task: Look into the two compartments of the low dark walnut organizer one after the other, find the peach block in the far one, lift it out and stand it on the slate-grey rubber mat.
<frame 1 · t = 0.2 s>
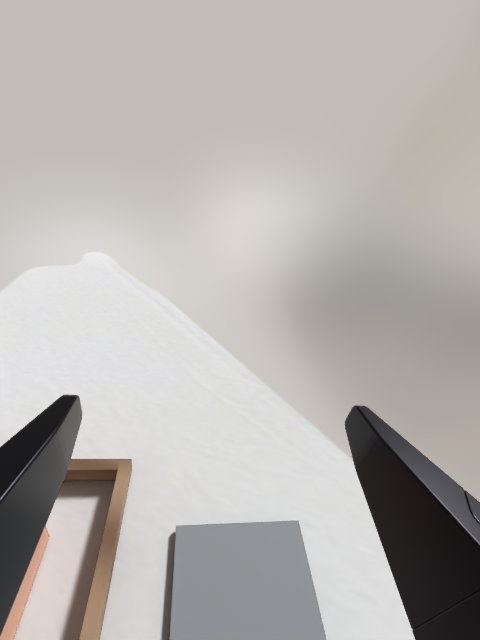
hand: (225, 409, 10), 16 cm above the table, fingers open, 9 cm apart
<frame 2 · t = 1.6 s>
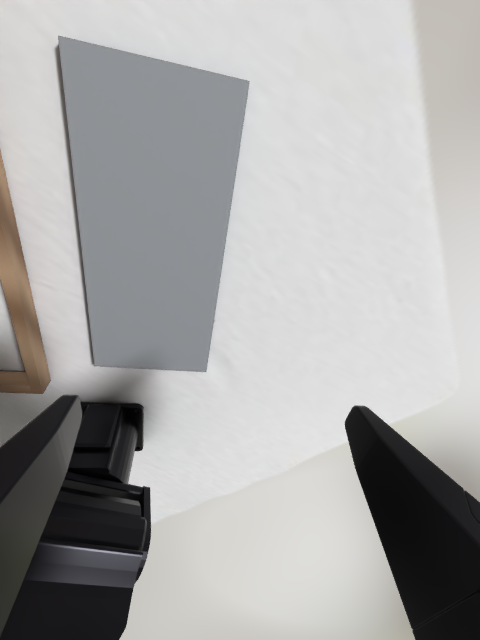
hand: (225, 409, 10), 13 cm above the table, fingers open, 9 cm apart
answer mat: (155, 253, 20), on the table
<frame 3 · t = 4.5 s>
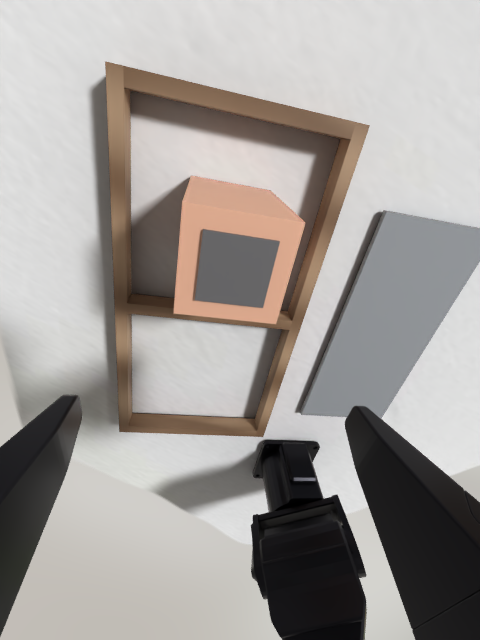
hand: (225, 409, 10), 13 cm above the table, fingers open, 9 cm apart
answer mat: (381, 336, 26), on the table
peach block: (225, 223, 20), resting in organizer
organizer: (212, 307, 23), on the table
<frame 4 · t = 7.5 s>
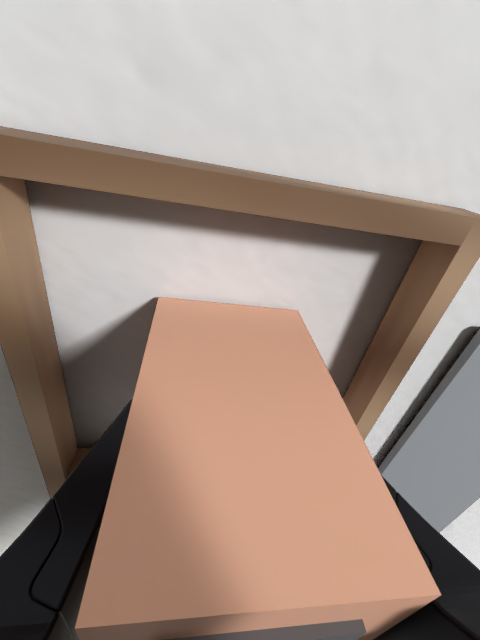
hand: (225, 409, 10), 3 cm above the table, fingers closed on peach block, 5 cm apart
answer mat: (445, 464, 18), on the table
peach block: (221, 357, 12), resting in organizer, touching gripper
organizer: (204, 453, 15), on the table
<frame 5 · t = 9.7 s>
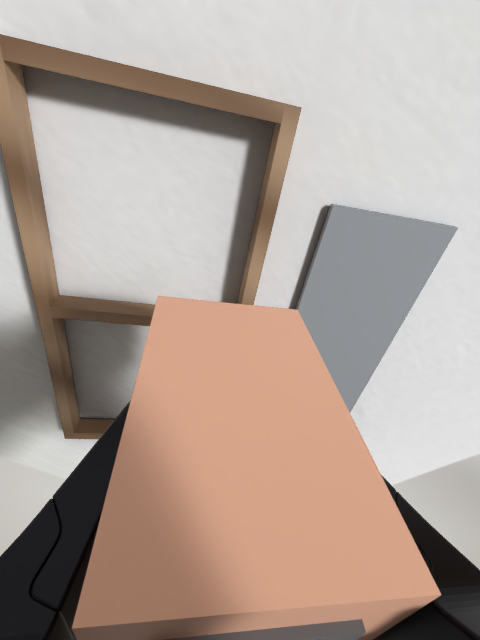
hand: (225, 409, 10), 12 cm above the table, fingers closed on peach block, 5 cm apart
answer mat: (339, 337, 25), on the table
peach block: (221, 357, 12), point 10 cm above the table, touching gripper
organizer: (151, 309, 21), on the table
when the fingers open (4 cm above the table, at t = 12.3 s): peach block drops 1 cm, resting on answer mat.
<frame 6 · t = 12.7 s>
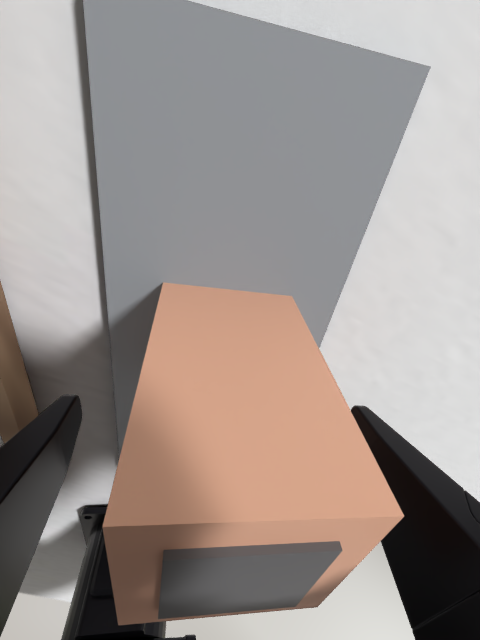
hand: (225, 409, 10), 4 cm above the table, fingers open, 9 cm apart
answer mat: (220, 335, 13), on the table
peach block: (221, 341, 13), resting on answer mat
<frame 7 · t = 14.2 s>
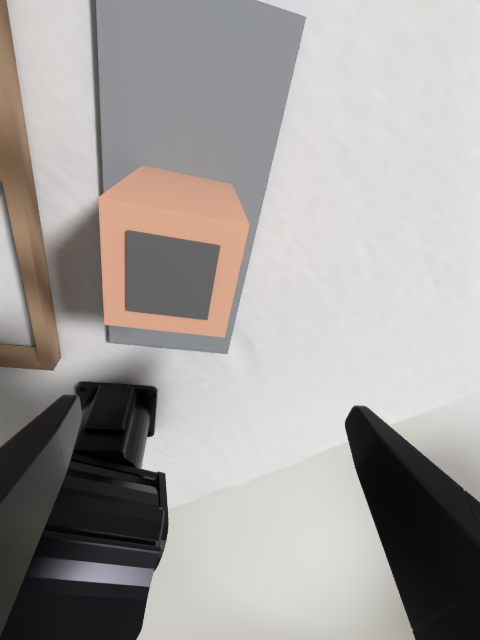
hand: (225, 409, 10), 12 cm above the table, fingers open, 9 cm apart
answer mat: (183, 218, 18), on the table
peach block: (183, 219, 18), resting on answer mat
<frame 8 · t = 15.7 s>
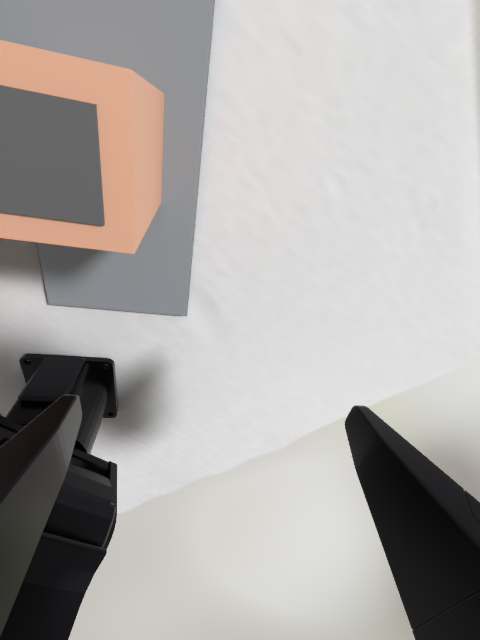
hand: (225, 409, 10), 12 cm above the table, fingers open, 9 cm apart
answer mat: (113, 143, 16), on the table
peach block: (112, 143, 15), resting on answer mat
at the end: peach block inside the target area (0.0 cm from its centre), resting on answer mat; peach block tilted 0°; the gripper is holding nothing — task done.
